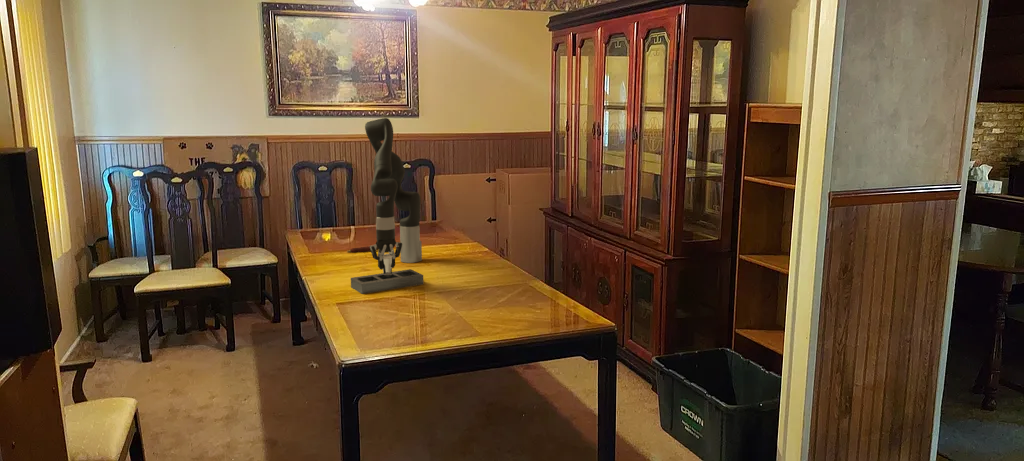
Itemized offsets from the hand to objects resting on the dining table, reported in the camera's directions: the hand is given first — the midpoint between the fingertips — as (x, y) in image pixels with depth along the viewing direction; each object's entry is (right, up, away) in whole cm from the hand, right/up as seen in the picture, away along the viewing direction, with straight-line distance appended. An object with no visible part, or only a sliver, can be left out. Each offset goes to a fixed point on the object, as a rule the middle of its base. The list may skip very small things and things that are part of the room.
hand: (386, 268), depth 288 cm
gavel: (-21, +4, +66) cm, 70 cm away
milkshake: (0, -3, +1) cm, 3 cm away
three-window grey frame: (0, -7, +1) cm, 7 cm away
